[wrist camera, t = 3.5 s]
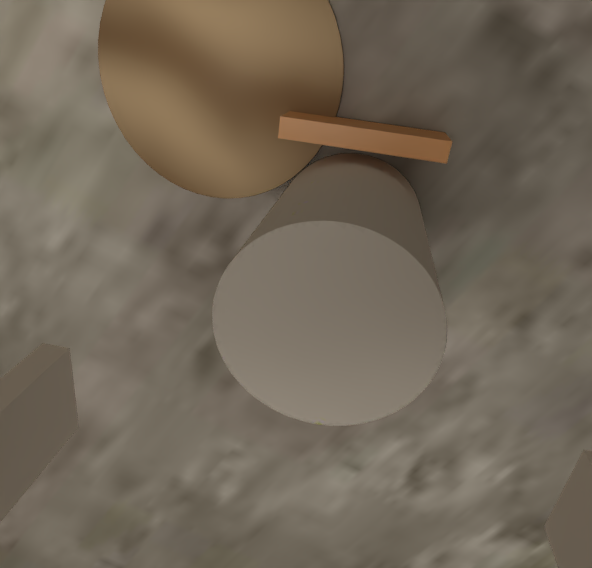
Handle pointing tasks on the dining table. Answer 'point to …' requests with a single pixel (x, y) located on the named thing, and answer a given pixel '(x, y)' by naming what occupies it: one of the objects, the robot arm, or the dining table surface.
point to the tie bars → (365, 136)
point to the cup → (335, 297)
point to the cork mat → (219, 86)
